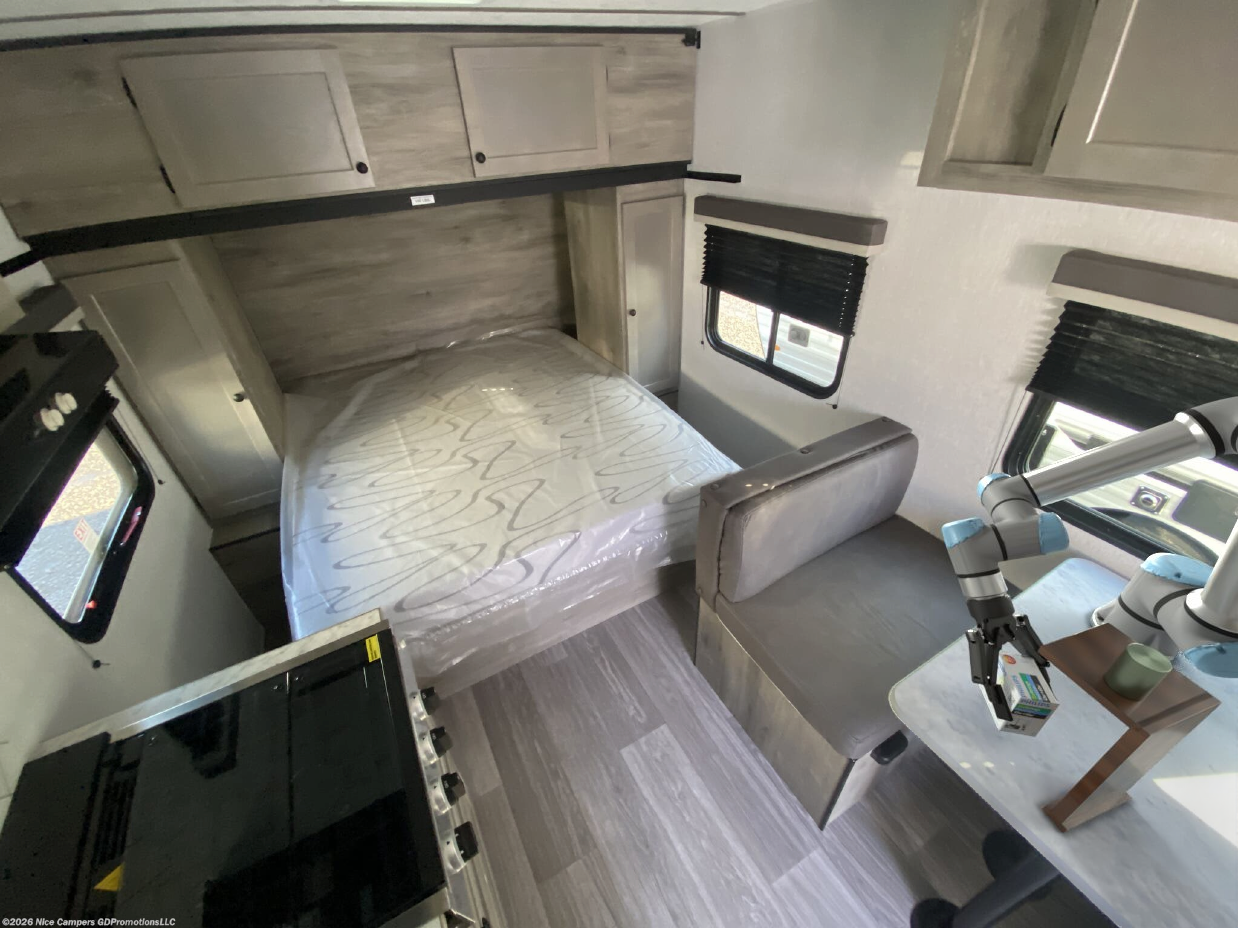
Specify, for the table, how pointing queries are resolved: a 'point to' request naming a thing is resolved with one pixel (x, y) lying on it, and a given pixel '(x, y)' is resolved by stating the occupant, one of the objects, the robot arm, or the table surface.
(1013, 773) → the table surface
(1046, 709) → the light bulb box
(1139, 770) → the shelf stand
